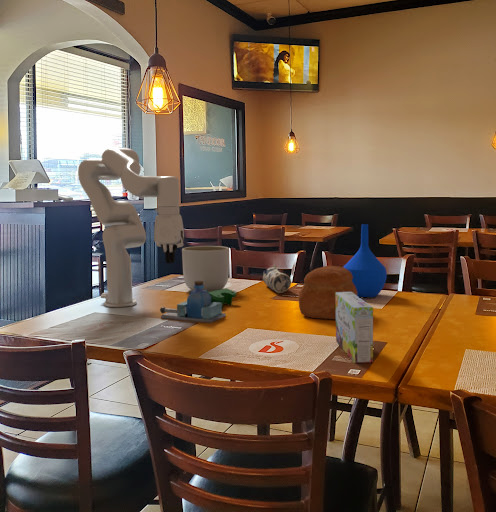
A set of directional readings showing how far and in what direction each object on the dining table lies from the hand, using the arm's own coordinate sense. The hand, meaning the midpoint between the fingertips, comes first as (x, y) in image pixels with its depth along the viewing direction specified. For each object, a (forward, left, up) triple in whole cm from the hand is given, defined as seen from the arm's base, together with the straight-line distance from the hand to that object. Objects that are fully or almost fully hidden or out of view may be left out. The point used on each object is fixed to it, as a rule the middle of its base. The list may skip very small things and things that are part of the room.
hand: (170, 262), depth 201 cm
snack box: (+71, -21, -19) cm, 77 cm away
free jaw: (+3, 0, -18) cm, 18 cm away
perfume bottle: (+12, 0, -18) cm, 22 cm away
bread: (+52, +23, -19) cm, 60 cm away
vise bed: (+9, 0, -19) cm, 21 cm away
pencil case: (+18, +61, -20) cm, 66 cm away
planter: (-11, +48, -19) cm, 53 cm away
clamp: (+10, +21, -19) cm, 30 cm away
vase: (+57, +60, -19) cm, 85 cm away
